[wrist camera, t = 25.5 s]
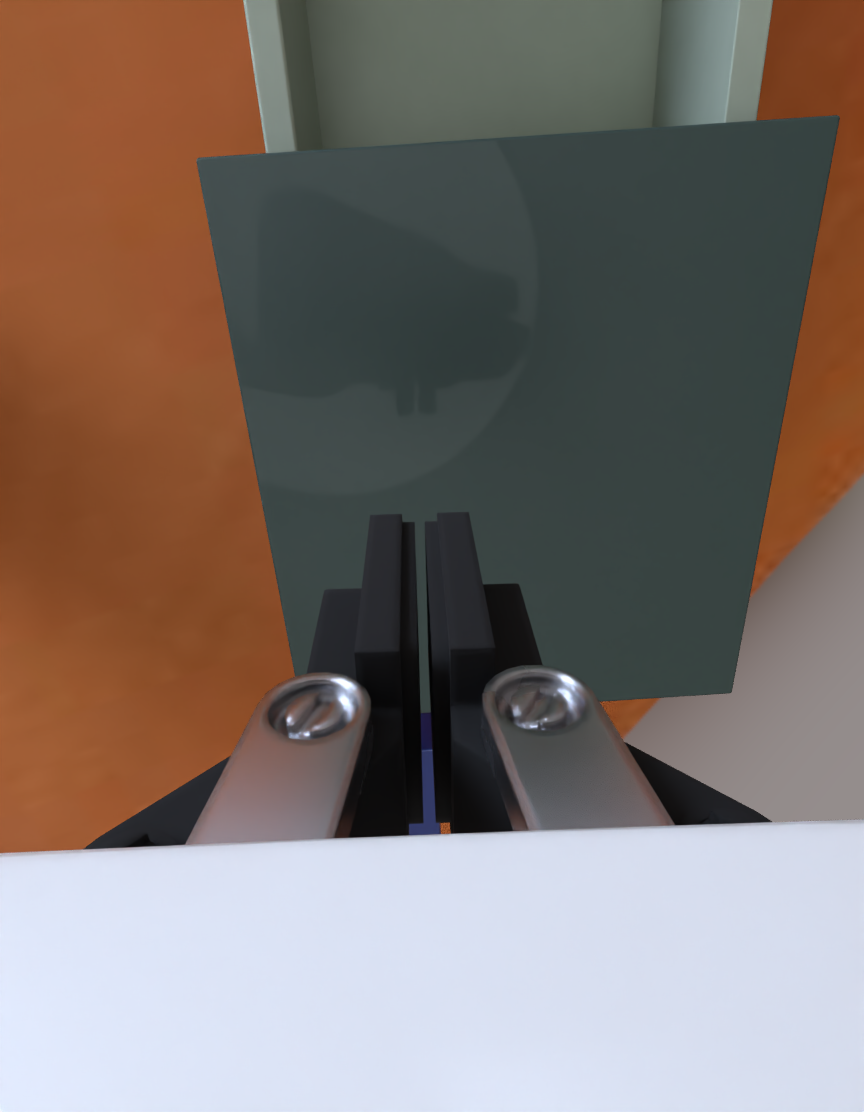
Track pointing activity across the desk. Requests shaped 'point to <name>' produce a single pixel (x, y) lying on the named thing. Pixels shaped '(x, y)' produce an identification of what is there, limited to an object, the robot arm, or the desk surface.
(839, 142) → the desk surface
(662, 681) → the cabinet
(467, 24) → the drawer
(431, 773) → the card deck
